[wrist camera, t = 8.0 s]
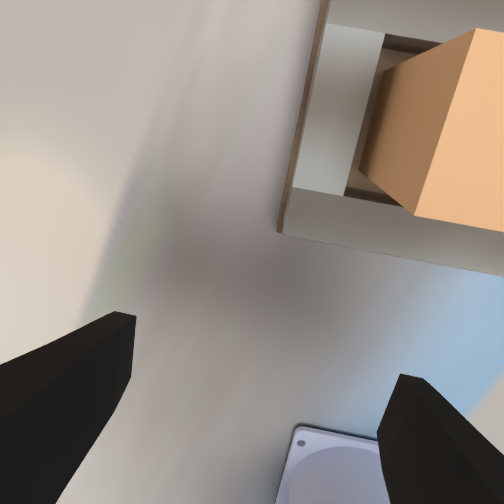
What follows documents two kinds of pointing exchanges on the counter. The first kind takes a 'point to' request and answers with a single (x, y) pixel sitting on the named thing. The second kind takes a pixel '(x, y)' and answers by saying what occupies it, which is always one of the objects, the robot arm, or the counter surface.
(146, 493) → the counter surface
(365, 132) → the socket block
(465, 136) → the peg
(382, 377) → the counter surface
